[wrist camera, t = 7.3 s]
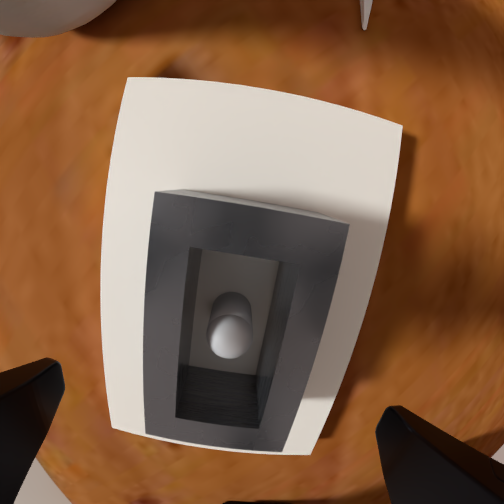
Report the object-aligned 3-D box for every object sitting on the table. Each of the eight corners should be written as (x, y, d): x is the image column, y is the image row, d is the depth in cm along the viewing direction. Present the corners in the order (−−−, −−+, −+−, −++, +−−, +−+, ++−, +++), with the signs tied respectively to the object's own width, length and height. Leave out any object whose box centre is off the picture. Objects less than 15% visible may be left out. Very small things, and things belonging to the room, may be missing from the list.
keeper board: (306, 439, 18) (319, 493, 13) (118, 413, 17) (95, 463, 12) (389, 130, 14) (443, 113, 9) (137, 86, 13) (97, 50, 8)
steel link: (274, 398, 15) (282, 452, 11) (163, 382, 15) (145, 433, 11) (318, 212, 13) (349, 224, 9) (181, 189, 13) (154, 191, 9)
